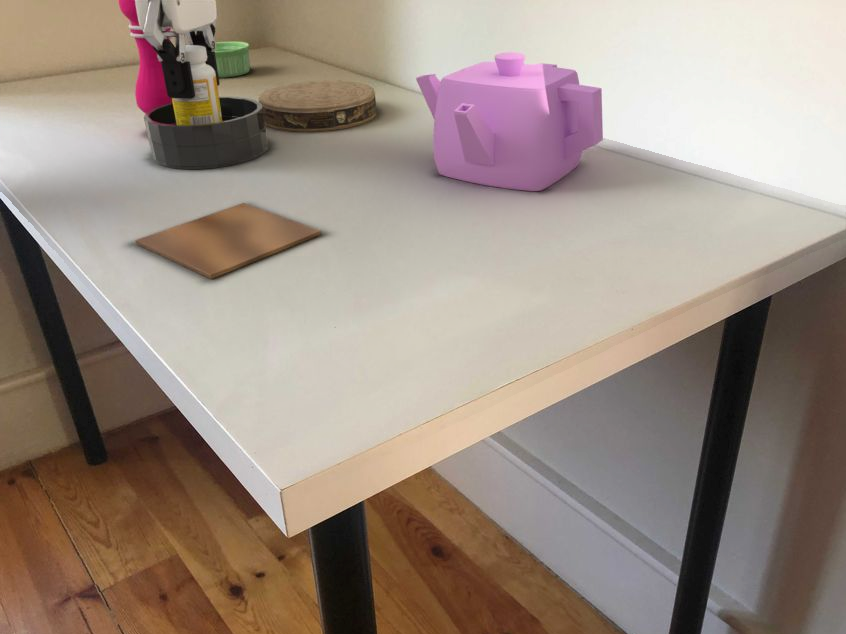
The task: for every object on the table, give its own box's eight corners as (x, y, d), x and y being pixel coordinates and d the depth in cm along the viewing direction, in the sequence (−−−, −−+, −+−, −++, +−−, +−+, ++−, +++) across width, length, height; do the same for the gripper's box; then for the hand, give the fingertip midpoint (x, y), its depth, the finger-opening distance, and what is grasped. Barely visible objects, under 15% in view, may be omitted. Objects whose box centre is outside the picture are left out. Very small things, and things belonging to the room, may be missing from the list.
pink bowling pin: (203, 135, 104) (170, -34, 93) (145, 142, 101) (105, -31, 91) (197, 121, 109) (166, -39, 99) (142, 128, 107) (104, -36, 97)
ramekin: (239, 65, 142) (234, 39, 139) (262, 73, 136) (258, 45, 133) (191, 73, 137) (185, 46, 135) (213, 81, 131) (208, 53, 129)
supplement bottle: (203, 140, 93) (189, 53, 88) (168, 134, 95) (152, 50, 90) (233, 128, 97) (221, 45, 92) (198, 123, 99) (185, 42, 94)
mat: (211, 279, 66) (210, 275, 66) (136, 244, 73) (135, 240, 73) (321, 234, 74) (320, 230, 74) (244, 206, 81) (243, 202, 81)
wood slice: (243, 114, 112) (239, 92, 111) (342, 96, 120) (339, 75, 119) (293, 139, 101) (290, 115, 100) (398, 117, 109) (397, 94, 108)
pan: (195, 177, 89) (185, 132, 87) (132, 155, 97) (121, 113, 94) (290, 148, 98) (285, 107, 95) (225, 129, 106) (219, 91, 103)
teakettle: (609, 184, 84) (618, 63, 78) (454, 203, 80) (450, 77, 74) (552, 140, 98) (555, 34, 92) (418, 154, 94) (412, 45, 88)
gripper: (172, -87, 92) (199, 75, 101) (85, -81, 77) (125, 107, 87) (232, -86, 91) (254, 77, 100) (156, -80, 76) (189, 111, 86)
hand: (194, 90), depth 93 cm, fingers closed on supplement bottle, 5 cm apart
